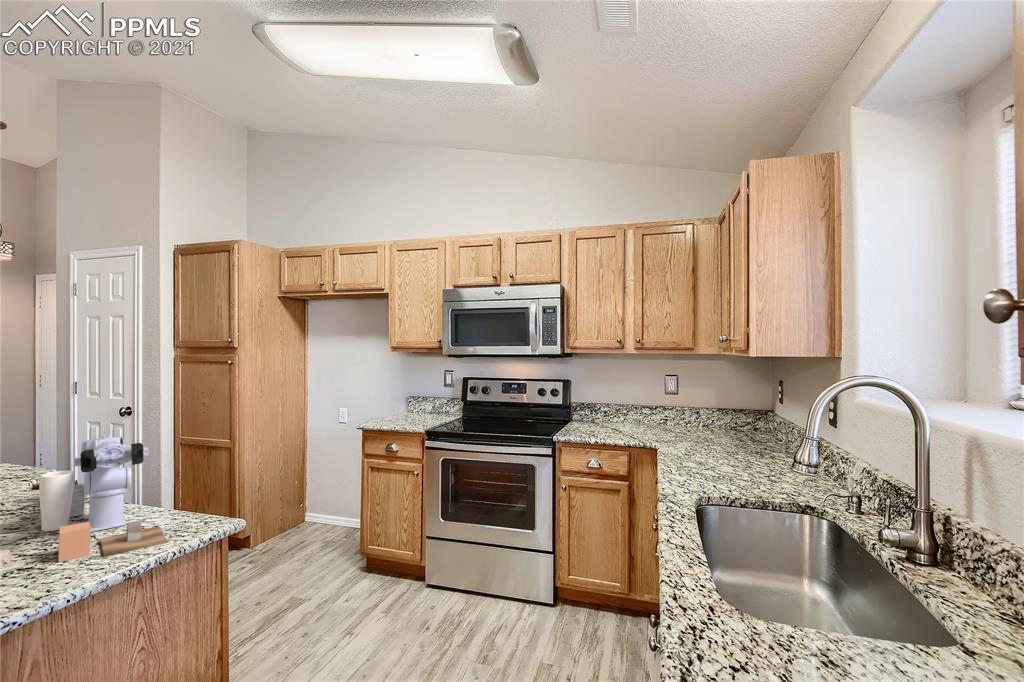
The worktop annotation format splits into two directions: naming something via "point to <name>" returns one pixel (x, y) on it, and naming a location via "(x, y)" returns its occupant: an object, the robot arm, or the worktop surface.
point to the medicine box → (77, 501)
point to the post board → (132, 545)
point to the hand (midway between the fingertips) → (115, 461)
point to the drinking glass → (55, 499)
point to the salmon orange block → (74, 541)
